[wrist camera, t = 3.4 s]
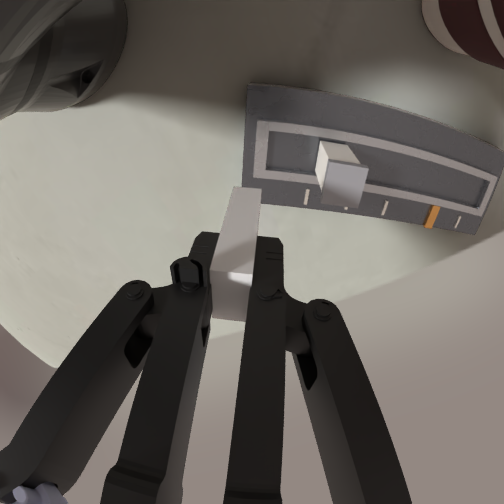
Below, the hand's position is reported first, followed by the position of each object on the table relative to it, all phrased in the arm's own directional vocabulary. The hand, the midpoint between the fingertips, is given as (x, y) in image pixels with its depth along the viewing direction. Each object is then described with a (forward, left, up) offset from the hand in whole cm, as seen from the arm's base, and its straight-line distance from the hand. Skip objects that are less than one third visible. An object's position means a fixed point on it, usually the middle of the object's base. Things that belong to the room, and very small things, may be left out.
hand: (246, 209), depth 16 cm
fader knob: (+6, 0, -10) cm, 11 cm away
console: (+13, 0, -12) cm, 18 cm away
